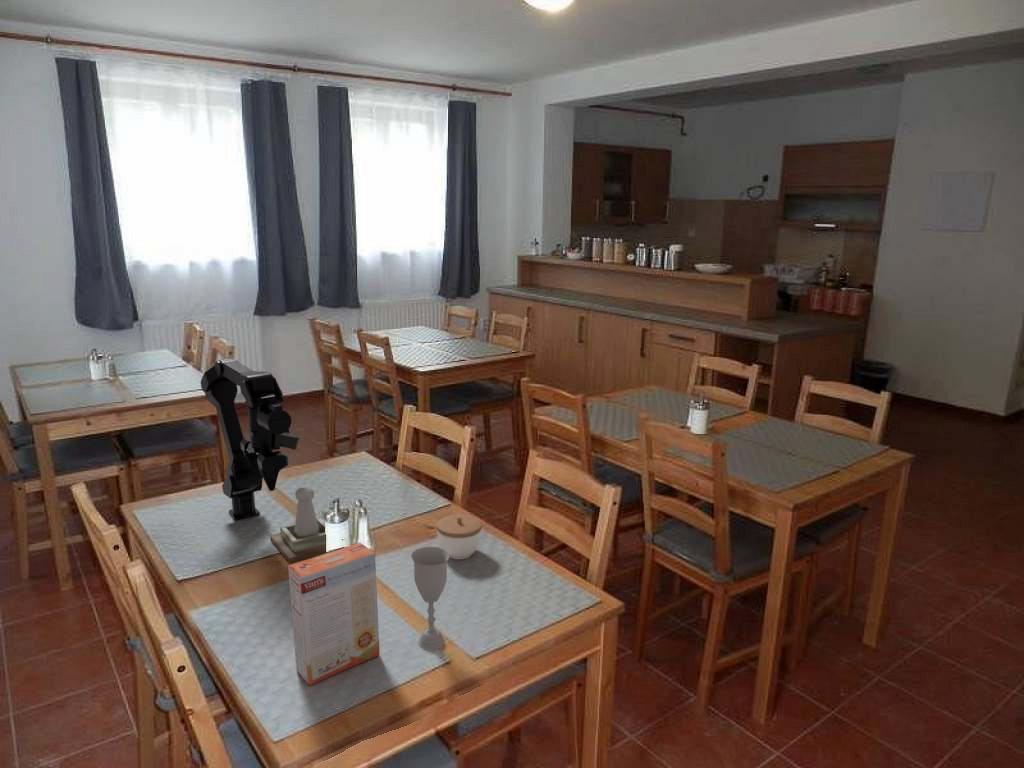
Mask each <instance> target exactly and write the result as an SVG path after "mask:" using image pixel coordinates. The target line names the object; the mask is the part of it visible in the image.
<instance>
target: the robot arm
mask: <svg viewBox="0 0 1024 768" xmlns="http://www.w3.org/2000/svg"><path fill="white" fill-rule="evenodd" d="M200 387H201V390H202V392H203V393H204V395H205V398H206V400H207V401H208V402H209V403H210V404H211V405H213V407H215V409H216V413H217V417H218V418H217V419H218V421H219V424H220V428H221V433H222V436H223V440H224V443H225V444H224V445H225V449H226V452H227V455H228V463H227V466H226V468H225V476H226V478H225V480H224V481H223V483H222V486H221V488H222V493H223V495H225V496H226V497H228V498H229V499H231V509H229V510H228V514H229V515H231V517H232V518H233V520H234V521H237V520H243V519H247V518H251V517H254V516H259V515H260V513H261V512H260V511H259V510H258V508H257V507H256V499H255V492H259V491H262V487H263V481H264V483H265V484H266V487H267V488H268V491H270V492H273V491H275V489H276V484H277V481H278V476H279V473H280V472H281V470H282V469H285V468H286V467H287V466H288V465H289V457H288V456H287V455H286V454H285V453H283V452H282V451H281V450H280V449H281V448H288V449H291V450H293V451H295V450H297V447H298V445H299V441H300V436H299V435H297V434H296V433H293V432H290V430H289V429H290V427H291V426H292V417H291V415H290V414H289V412H287V411H286V410H285V409H283V405H282V404H279V403H284V398H283V396H284V393H283V391H282V390H281V388H280V385H279V384H278V381H277V378H276V377H275V376H274V375H273V374H272V373H271V372H270V371H260V370H259V371H258V370H255V371H254V370H253V369H251V368H249V366H248V367H247V366H246V365H244V364H242V363H241V362H239V360H238V359H236V358H232V357H231V358H226V359H218V360H217V361H215V363H214V365H213V366H211V367H210V368H209V369H207V370H206V371H205V372H204V373H203V375H202V377H201V380H200ZM238 387H239V388H240V394H242V396H243V398H244V399H245V401H244V402H245V404H246V405H247V413H248V414H247V417H248V427H247V428H246V432H247V433H248V434H249V436H248V437H244V434H243V430H242V426H241V423H240V419H239V416H238V412H237V407H236V404H235V400H236V397H237V395H238Z"/></svg>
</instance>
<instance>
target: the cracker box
mask: <svg viewBox="0 0 1024 768" xmlns="http://www.w3.org/2000/svg"><path fill="white" fill-rule="evenodd" d="M376 565H377V564H376V552H374V551H373V550H371V549H370V548H369V547H368V546H366V545H365V544H364V543H361V542H358V543H355V544H351V545H349V546H348V545H347V547H345V548H341V549H338V550H334V551H330V552H327V553H323V554H320V555H316V556H313V557H310V558H307V559H306V560H305V559H303V560H302V561H301V560H300V561H297V562H294V563H292V564H289V565H288V566H287V568H288V569H287V572H288V582H289V596H290V607H291V617H292V618H291V619H292V630H293V631H292V632H293V642H294V654H295V655H294V656H295V666H296V667H295V668H296V671H297V672H298V674H299V675H300V676H301V678H302V679H303V680H304V681H305V682H306V684H307V685H308V686H312V685H314V684H316V683H319V682H321V681H324V680H325V679H328V678H330V677H332V676H335V675H336V674H337V675H338V674H339V673H341V672H343V671H345V670H348V669H350V668H352V667H355V666H357V665H359V664H362V663H363V662H366V661H369V660H371V659H374V658H376V657H378V656H379V655H380V650H381V649H380V633H379V610H378V609H379V607H378V606H379V605H378V591H377V590H378V589H377V588H378V587H377V568H376V567H377V566H376Z"/></svg>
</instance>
